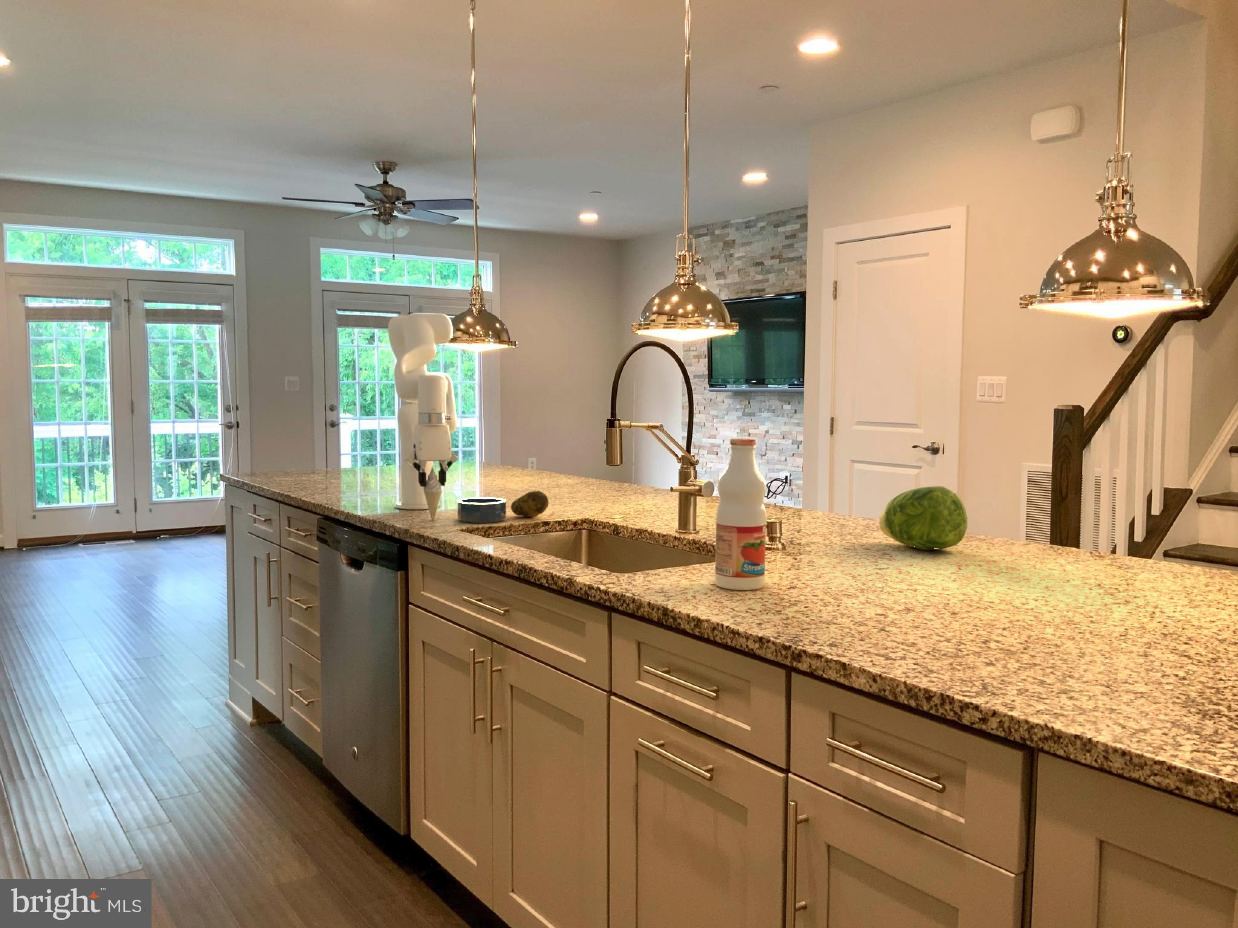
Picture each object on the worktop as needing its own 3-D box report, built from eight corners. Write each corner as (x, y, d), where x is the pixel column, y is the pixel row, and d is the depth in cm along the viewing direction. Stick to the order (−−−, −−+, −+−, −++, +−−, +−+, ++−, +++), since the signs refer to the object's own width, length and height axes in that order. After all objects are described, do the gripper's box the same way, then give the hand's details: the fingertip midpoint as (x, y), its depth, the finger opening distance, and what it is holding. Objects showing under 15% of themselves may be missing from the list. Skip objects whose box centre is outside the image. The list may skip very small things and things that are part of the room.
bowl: (450, 518, 259) (450, 499, 259) (493, 515, 266) (493, 496, 266) (469, 525, 248) (469, 504, 248) (513, 521, 255) (513, 501, 255)
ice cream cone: (421, 519, 257) (422, 465, 256) (440, 519, 259) (440, 465, 258) (424, 522, 252) (425, 467, 251) (443, 521, 254) (443, 467, 253)
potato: (535, 514, 271) (535, 486, 270) (552, 520, 259) (552, 491, 258) (508, 515, 267) (508, 488, 266) (524, 521, 255) (524, 493, 255)
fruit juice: (725, 578, 183) (729, 437, 181) (771, 583, 179) (775, 438, 176) (706, 587, 175) (710, 439, 172) (754, 593, 170) (758, 441, 168)
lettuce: (914, 550, 233) (894, 492, 234) (988, 534, 217) (966, 472, 218) (876, 566, 223) (856, 506, 224) (950, 551, 207) (928, 486, 208)
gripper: (455, 418, 261) (456, 483, 263) (397, 419, 252) (397, 486, 253) (466, 419, 255) (466, 485, 256) (406, 420, 246) (407, 488, 247)
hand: (432, 485), depth 255 cm, fingers closed on ice cream cone, 4 cm apart
